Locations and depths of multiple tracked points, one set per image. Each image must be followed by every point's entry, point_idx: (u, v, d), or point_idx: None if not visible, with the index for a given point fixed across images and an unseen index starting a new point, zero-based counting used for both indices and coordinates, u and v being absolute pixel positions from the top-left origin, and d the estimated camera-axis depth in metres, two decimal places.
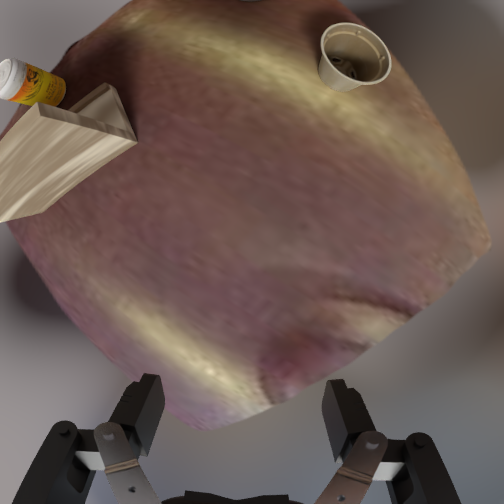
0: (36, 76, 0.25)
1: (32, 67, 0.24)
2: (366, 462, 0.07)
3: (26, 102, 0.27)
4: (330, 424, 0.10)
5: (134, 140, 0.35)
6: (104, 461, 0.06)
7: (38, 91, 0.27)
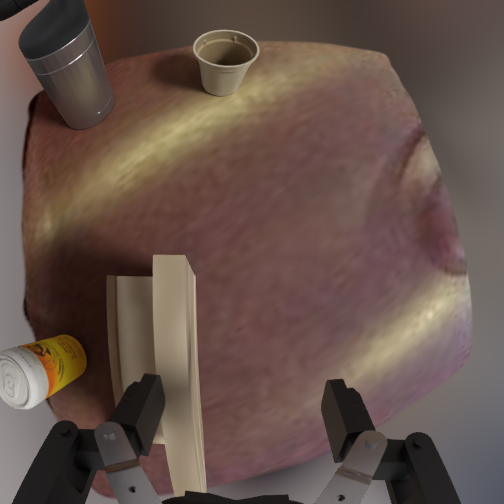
0: (42, 346, 0.22)
1: (26, 344, 0.21)
2: (366, 463, 0.07)
3: (63, 381, 0.23)
4: (329, 424, 0.10)
5: None
6: (105, 461, 0.06)
7: (61, 358, 0.24)
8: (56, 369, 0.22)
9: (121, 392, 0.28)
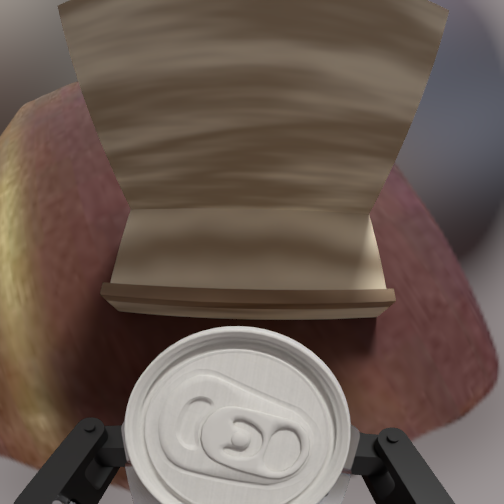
0: None
1: None
2: None
3: None
4: None
5: None
6: (127, 455, 0.07)
7: None
8: None
9: (293, 291, 0.19)
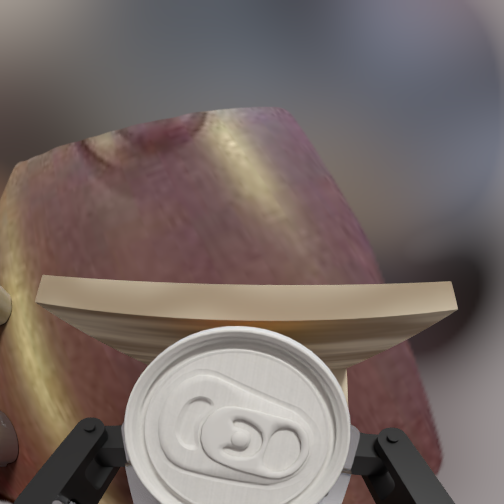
0: None
1: None
2: None
3: None
4: None
5: None
6: (127, 455, 0.07)
7: None
8: None
9: None
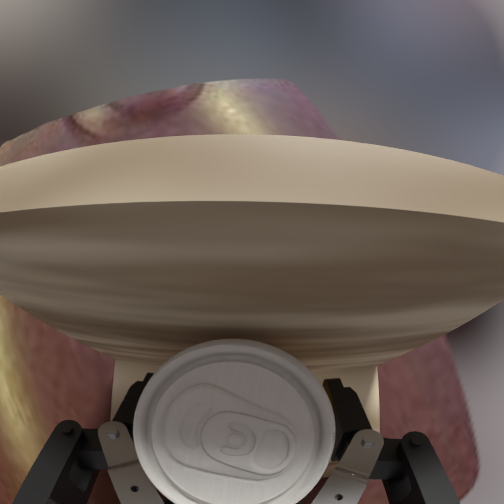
0: None
1: None
2: (363, 461, 0.07)
3: None
4: None
5: None
6: (107, 460, 0.06)
7: None
8: None
9: None
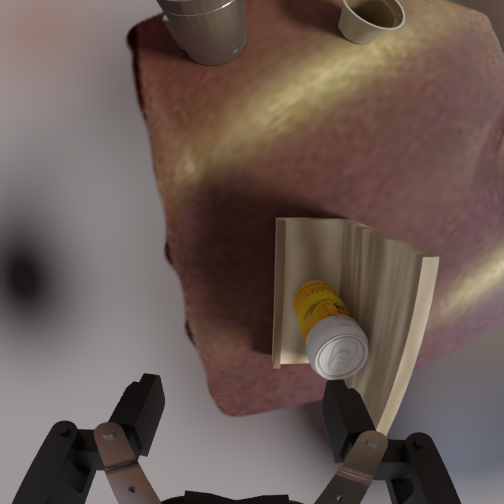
0: (340, 305, 0.29)
1: (329, 309, 0.28)
2: (366, 463, 0.07)
3: None
4: (330, 424, 0.10)
5: (350, 220, 0.37)
6: (104, 461, 0.06)
7: None
8: None
9: (282, 323, 0.39)
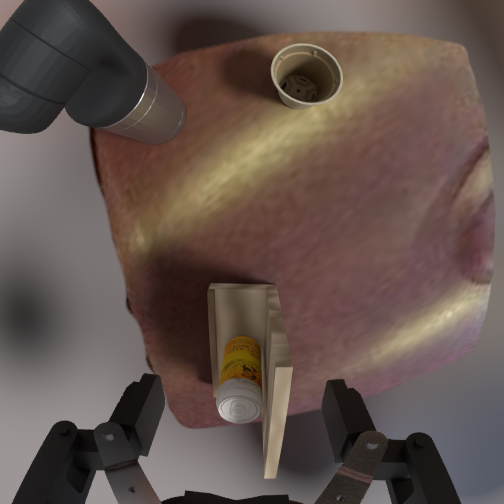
0: (248, 367, 0.37)
1: (236, 370, 0.36)
2: (366, 463, 0.07)
3: None
4: (330, 424, 0.10)
5: (275, 287, 0.45)
6: (104, 461, 0.06)
7: (259, 368, 0.39)
8: (261, 381, 0.37)
9: (217, 366, 0.46)
